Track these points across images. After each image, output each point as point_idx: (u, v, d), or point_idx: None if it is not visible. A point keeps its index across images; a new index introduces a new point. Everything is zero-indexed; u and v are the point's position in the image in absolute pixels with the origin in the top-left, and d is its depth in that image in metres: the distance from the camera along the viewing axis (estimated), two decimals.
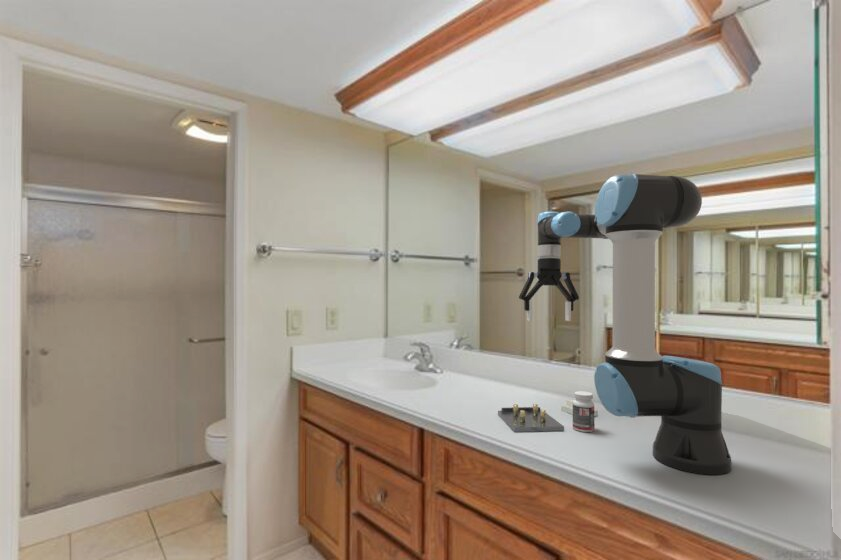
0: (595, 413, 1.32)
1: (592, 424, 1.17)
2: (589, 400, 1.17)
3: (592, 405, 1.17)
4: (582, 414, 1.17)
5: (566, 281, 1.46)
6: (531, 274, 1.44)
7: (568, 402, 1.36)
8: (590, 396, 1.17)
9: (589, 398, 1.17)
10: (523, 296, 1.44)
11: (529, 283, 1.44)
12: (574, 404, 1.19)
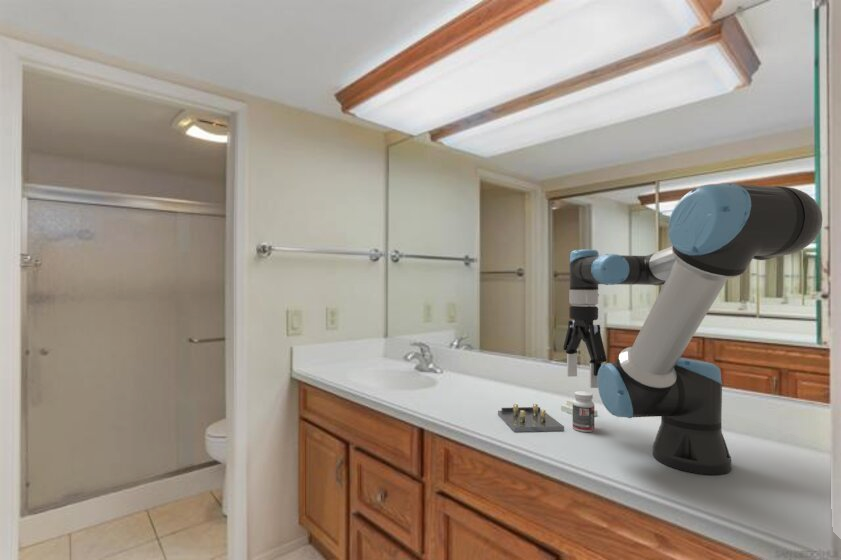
0: (595, 413, 1.32)
1: (592, 424, 1.17)
2: (589, 400, 1.17)
3: (592, 405, 1.17)
4: (582, 414, 1.17)
5: None
6: (569, 323, 1.26)
7: (568, 402, 1.36)
8: (590, 396, 1.17)
9: (589, 398, 1.17)
10: (564, 347, 1.29)
11: (567, 333, 1.27)
12: (574, 404, 1.19)
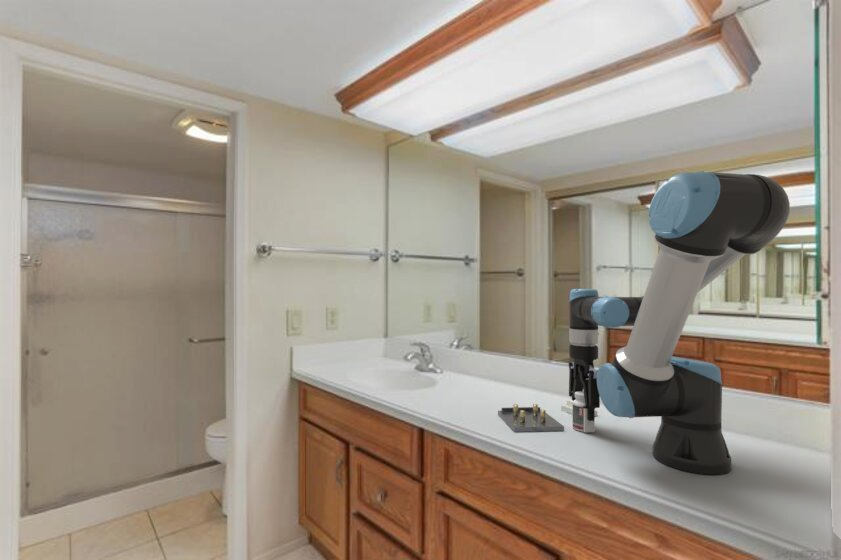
0: (595, 413, 1.32)
1: None
2: None
3: None
4: (582, 414, 1.17)
5: None
6: (569, 365, 1.26)
7: (568, 402, 1.36)
8: None
9: None
10: (569, 393, 1.25)
11: (570, 376, 1.25)
12: (574, 404, 1.19)
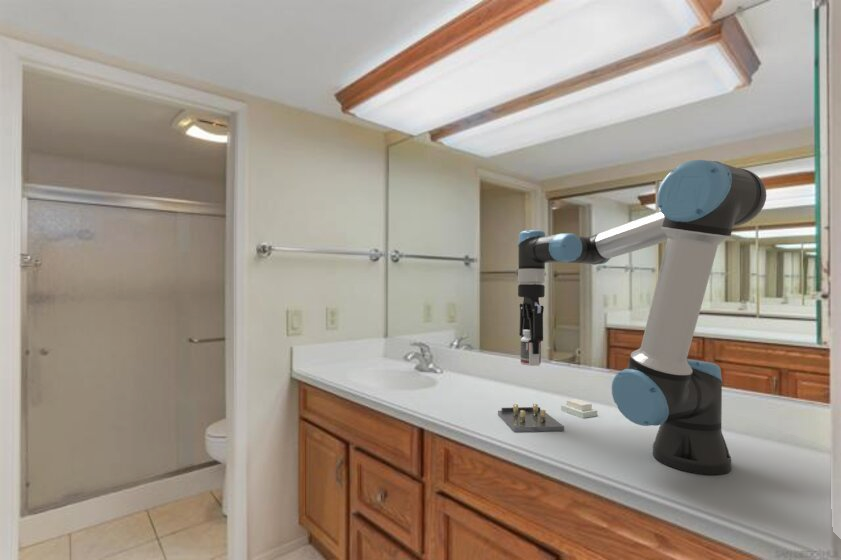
0: (595, 413, 1.32)
1: None
2: None
3: None
4: (528, 349, 1.23)
5: None
6: None
7: (568, 402, 1.36)
8: None
9: None
10: (520, 332, 1.31)
11: (520, 316, 1.31)
12: (522, 340, 1.25)
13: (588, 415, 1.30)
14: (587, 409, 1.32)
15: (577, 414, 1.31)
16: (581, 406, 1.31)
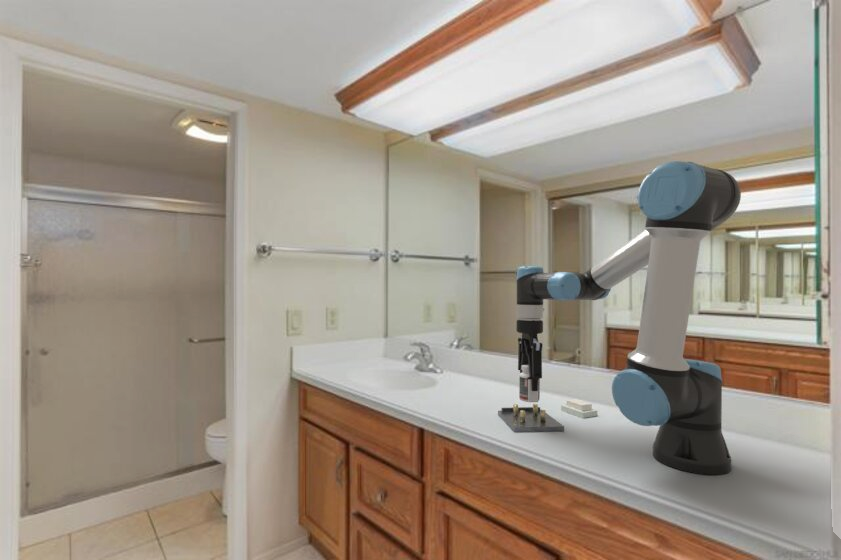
0: (595, 413, 1.32)
1: None
2: None
3: None
4: (527, 385, 1.22)
5: None
6: None
7: (568, 402, 1.36)
8: None
9: None
10: (518, 367, 1.31)
11: (518, 351, 1.31)
12: (520, 376, 1.24)
13: (588, 415, 1.30)
14: (587, 409, 1.32)
15: (577, 414, 1.31)
16: (581, 406, 1.31)
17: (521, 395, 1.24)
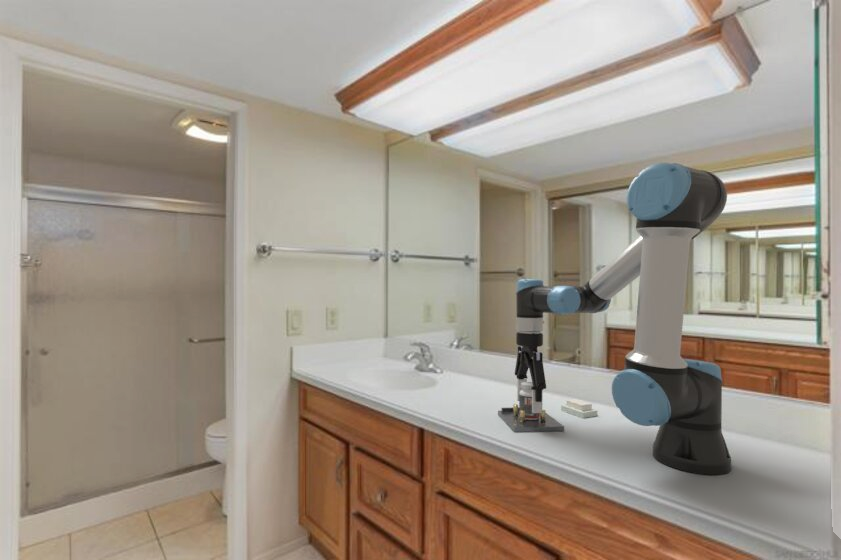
0: (595, 413, 1.32)
1: (536, 413, 1.23)
2: None
3: None
4: (527, 403, 1.23)
5: None
6: None
7: (568, 402, 1.36)
8: None
9: None
10: (515, 372, 1.34)
11: (517, 358, 1.32)
12: (520, 394, 1.25)
13: (588, 415, 1.30)
14: (587, 409, 1.32)
15: (577, 414, 1.31)
16: (581, 406, 1.31)
17: None
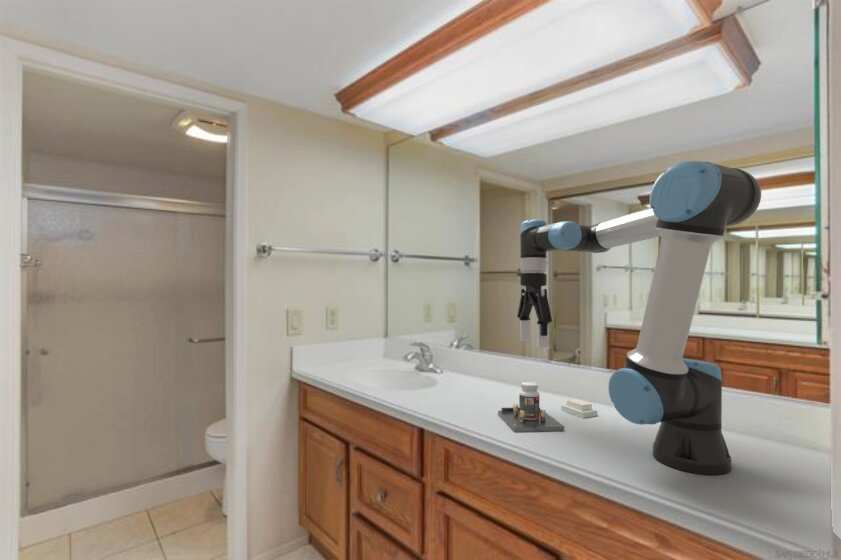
0: (595, 413, 1.32)
1: (537, 413, 1.23)
2: (534, 390, 1.23)
3: (537, 395, 1.23)
4: (527, 403, 1.22)
5: None
6: None
7: (568, 402, 1.36)
8: (535, 386, 1.23)
9: (534, 388, 1.23)
10: (518, 314, 1.37)
11: (520, 301, 1.35)
12: (520, 394, 1.24)
13: (588, 415, 1.30)
14: (587, 409, 1.32)
15: (577, 414, 1.31)
16: (581, 406, 1.31)
17: None
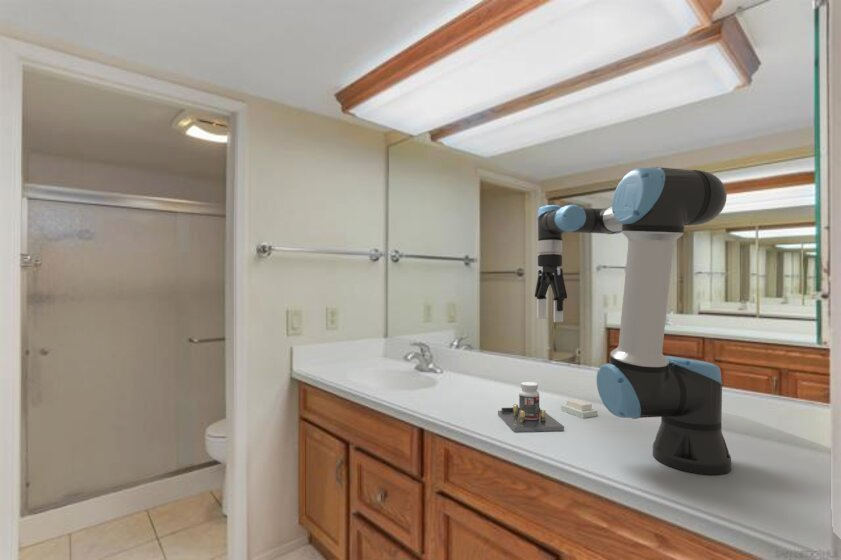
0: (595, 413, 1.32)
1: (536, 413, 1.23)
2: (534, 390, 1.23)
3: (537, 395, 1.23)
4: (527, 403, 1.22)
5: None
6: None
7: (568, 402, 1.36)
8: (535, 386, 1.23)
9: (534, 388, 1.23)
10: (535, 294, 1.48)
11: (537, 281, 1.46)
12: (520, 394, 1.24)
13: (588, 415, 1.30)
14: (587, 409, 1.32)
15: (577, 414, 1.31)
16: (581, 406, 1.31)
17: None
